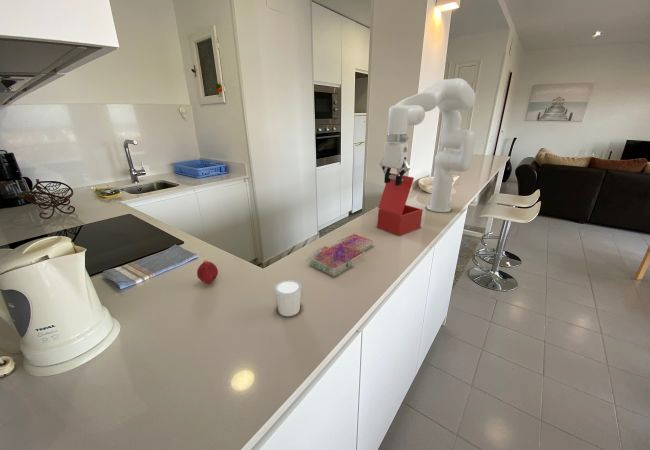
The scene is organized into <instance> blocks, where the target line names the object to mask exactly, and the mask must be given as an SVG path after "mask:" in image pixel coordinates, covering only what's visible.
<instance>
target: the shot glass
mask: <svg viewBox="0 0 650 450" xmlns="http://www.w3.org/2000/svg"><path fill="white" fill-rule="evenodd" d="M274 293H275V299H276V305H277V310H278V313H279V314H280V315H281V316H284V317H292V316H295V315H297V314H298V313H299V312H300V310H301V295H302V284H301V283H300V282H299V281H297V280H293V279H285V280H281V281H279V282H278V283H276V284H275V285H274Z"/></svg>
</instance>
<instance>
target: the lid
mask: <svg viewBox="0 0 650 450" xmlns="http://www.w3.org/2000/svg"><path fill="white" fill-rule="evenodd" d="M390 173H391V172H390ZM396 176H397V173H391V175H389V179H390V182H389V183H385V186H384V187H383V188H384V189H383V191H382V195H381V198H380V201H379V204H378V208H377V209H378V210H379V209H382V210H385V211H389V212H392V213H395V214H398V215H401V216H402V213H403V210H404V207H405V205H407V200H408V197H409V194H410V191H411V189H412V186H413V183H414V180H415V177H413V176H408V175H403V176H402V182H401V185H398V186H396V185H395V180H396Z"/></svg>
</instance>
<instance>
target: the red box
mask: <svg viewBox="0 0 650 450" xmlns="http://www.w3.org/2000/svg"><path fill="white" fill-rule="evenodd" d="M377 211H378V212H377V226H376V227H377V228H379V229H381V230H384V231H385V232H388V233H391V234H393V235H396V236H401V235H404V234H407V233H410V232H413V231H414V230H417V229H420V228H421V225H422V217H423V209H422V208H418V207H415V206H411V205H407V204H405V207H404V210H403V213H402V216H401V215H398V214H395V213H392V212H389V211H385V210H382V209H379V208H378V209H377Z"/></svg>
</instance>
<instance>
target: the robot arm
mask: <svg viewBox="0 0 650 450" xmlns="http://www.w3.org/2000/svg"><path fill="white" fill-rule="evenodd" d="M475 103H476V93H475V91H474V89H473V88H472V86H471V85H470V84H469V82H467V81H466V80H465V79H463V78H460V77H456V78H445V79H440V80H437V81H435V82H434V83H433V84H431V85H430V86H428V87H427V88H426V89H425V90H423V91H421V92H418V93H416V94H413V95H411V96H407V97H406V98H403V99H402V100H400V101H399V102H396V103H395V104H394V105H391V106H390V107H389V109H388V120H387V130H386V131H387V133H386V141H385V143H384V147H383V152H382V160H381V161H380V163H379V166H380V167H381V169H382V172H383V174H384V181H383V182H384V184H386V183H389V182H390V179H389V175H391V170H392V169H396V174H397V176H396V180H395V185H396V186H398V185H401V182H402V176H405V174H406V173H407V172H408V171H409V170H411V167H410V165H409V144H408V142H407V141H409V137H408V135H407V134H408V126H418V125H420V124H421V123H423V121H425V118H426V112H430V111H433V110H434V109H435V108H436V107H437V108H438V109H439V111H440V113H441V116H442V125H441V134H440V146H441V147H442V148H445V149H451V150H441V151H438V152H437V153H436V154H435V157H434V175H433V182H432V189H431V196H430V203H429V204H427V205H426V209H427V210H429V211H431V212H434V213H449V212H451V211H452V207H451V206H449V205H450V204H452V203H453V201H452V200H451V194H452V193H451V192H452V188H453V182H454V176H453V174H452V172H460V173H465V172H466V171H468V170H469V169H470V167H471V164H472V161H473V160H472V159H473V154H474V149H475V143H476V134H475V131H474V130H472V129H468V128H467V129H466V128H462V121H463V118H462V114H461V112H460V111H468V110H470V109H472V108H473V107H474V105H475ZM453 150H460V151H453ZM451 171H452V172H451Z"/></svg>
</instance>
